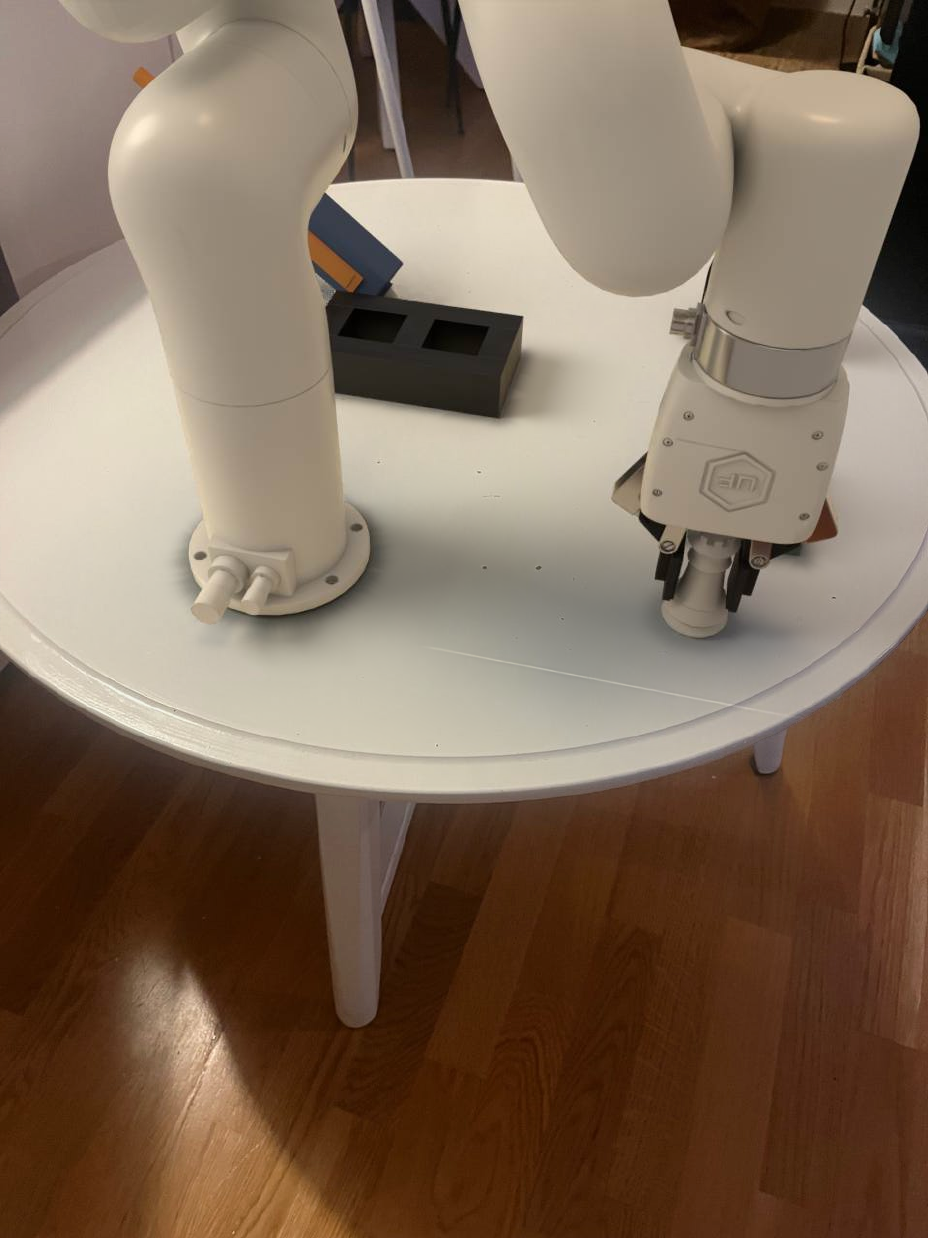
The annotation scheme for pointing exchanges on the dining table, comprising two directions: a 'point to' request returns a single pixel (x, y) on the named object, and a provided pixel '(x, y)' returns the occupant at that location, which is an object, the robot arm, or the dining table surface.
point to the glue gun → (340, 245)
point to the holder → (423, 352)
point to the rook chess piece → (702, 586)
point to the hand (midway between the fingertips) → (700, 589)
